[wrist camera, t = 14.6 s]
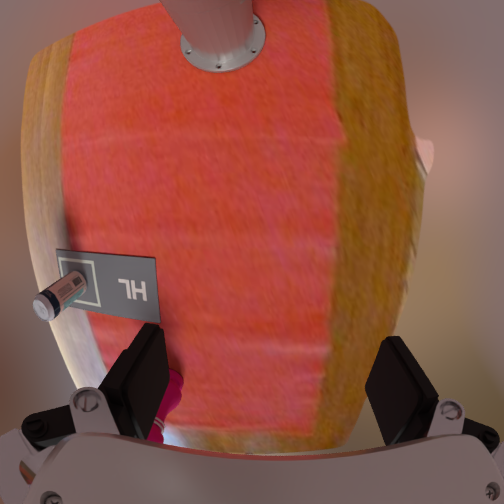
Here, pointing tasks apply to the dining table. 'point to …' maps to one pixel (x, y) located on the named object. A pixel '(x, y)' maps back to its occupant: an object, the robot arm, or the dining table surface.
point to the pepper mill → (166, 406)
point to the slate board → (114, 284)
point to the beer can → (59, 296)
